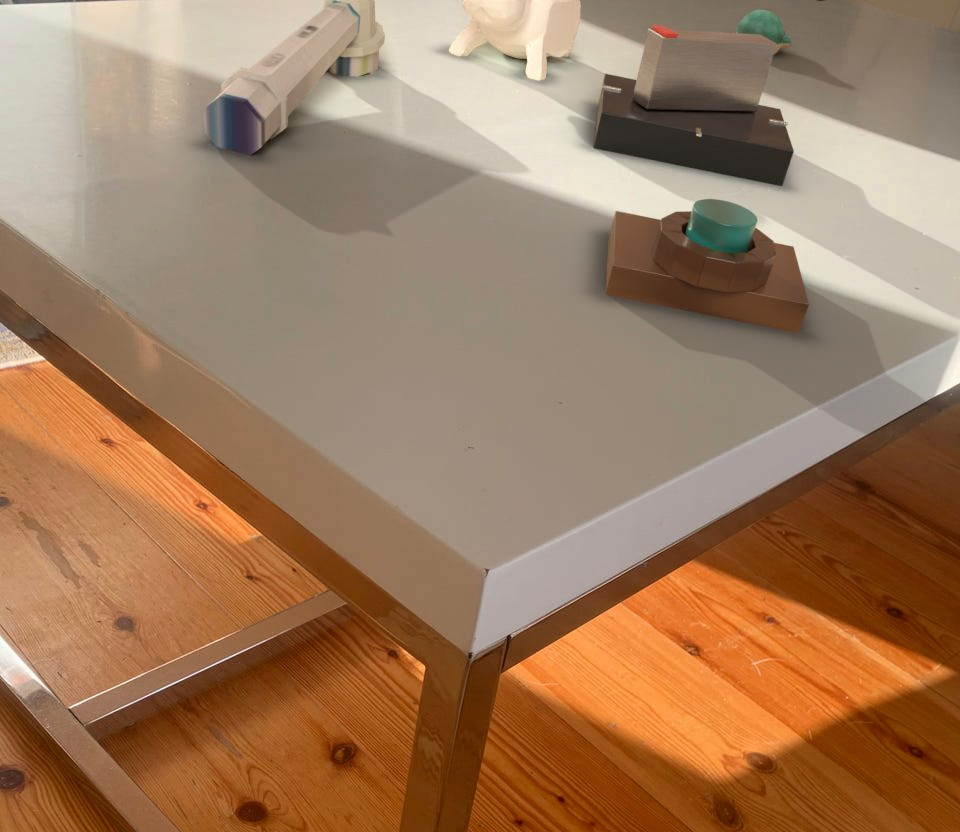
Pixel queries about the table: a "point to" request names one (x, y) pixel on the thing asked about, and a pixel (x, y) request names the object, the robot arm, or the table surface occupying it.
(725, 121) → the lever base
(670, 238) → the button block
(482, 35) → the pig figurine
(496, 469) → the table surface
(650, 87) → the red-tipped steel block
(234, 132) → the white flashlight
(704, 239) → the button
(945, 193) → the table surface
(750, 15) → the turtle figurine
